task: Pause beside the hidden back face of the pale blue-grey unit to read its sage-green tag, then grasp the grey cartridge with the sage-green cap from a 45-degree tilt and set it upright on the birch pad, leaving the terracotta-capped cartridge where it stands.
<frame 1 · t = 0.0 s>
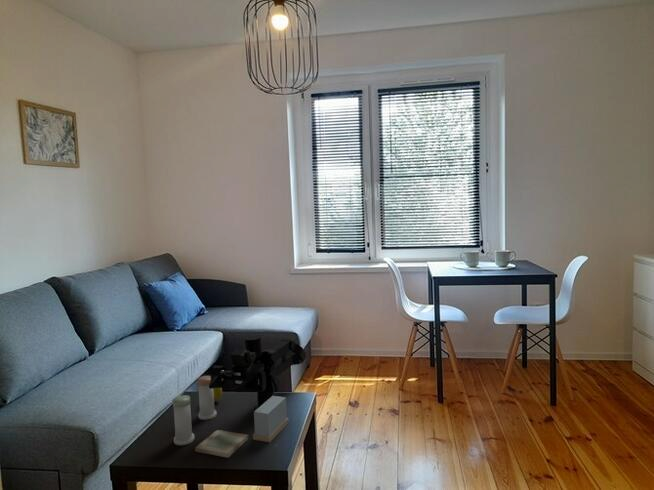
hand: (222, 388, 135), 17 cm above the table, tool horizontal, fingers open, 9 cm apart
unit: (271, 430, 143), on the table
pad: (222, 445, 135), on the table
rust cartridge: (207, 415, 155), on the table
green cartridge: (184, 440, 139), on the table
lemon: (214, 402, 166), on the table
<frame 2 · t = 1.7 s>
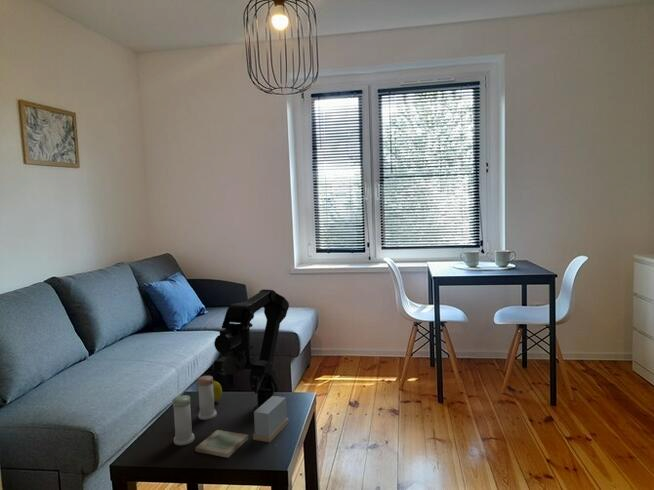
hand: (243, 391, 146), 11 cm above the table, tool pointing down, fingers open, 9 cm apart
nothing on the table moved.
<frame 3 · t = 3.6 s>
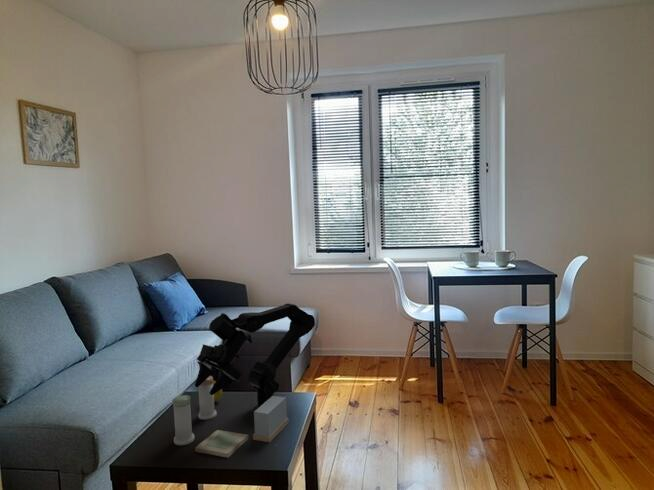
hand: (203, 390, 143), 13 cm above the table, tool tilted 45°, fingers open, 9 cm apart
nothing on the table moved.
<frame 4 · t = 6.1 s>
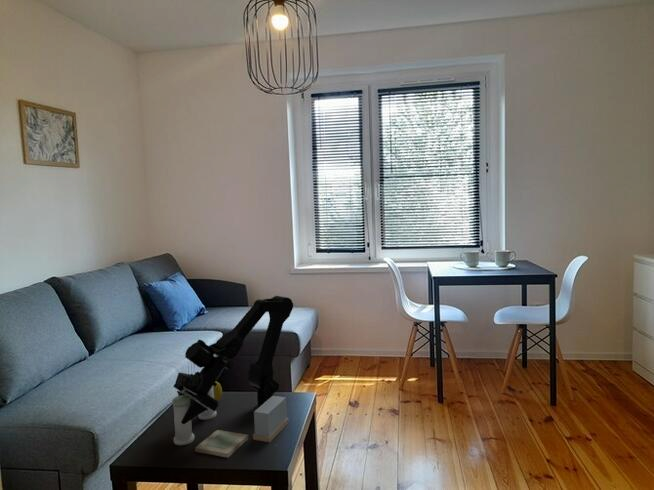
hand: (178, 420, 137), 7 cm above the table, tool tilted 45°, fingers closed on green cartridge, 5 cm apart
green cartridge: (184, 440, 139), on the table, touching gripper
everything else where it was.
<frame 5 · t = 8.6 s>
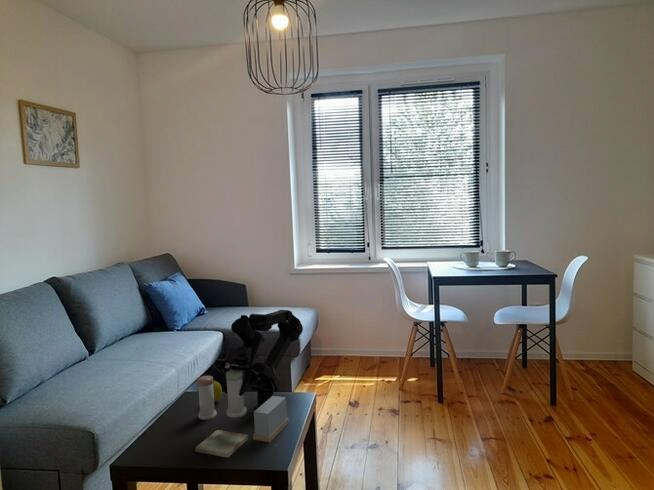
hand: (232, 394, 141), 12 cm above the table, tool tilted 45°, fingers closed on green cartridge, 5 cm apart
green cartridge: (236, 412, 143), point 6 cm above the table, touching gripper
everything else where it was.
when the fingers open (9 cm above the table, at t = 10.9 s): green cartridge drops 1 cm, resting on pad.
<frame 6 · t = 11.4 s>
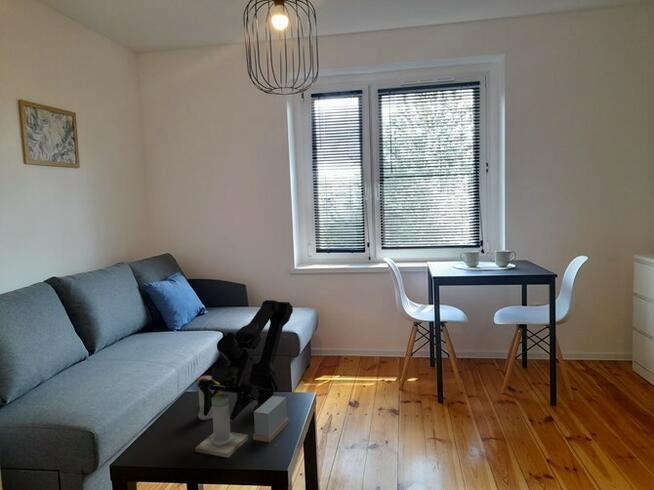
hand: (218, 417, 133), 9 cm above the table, tool tilted 45°, fingers open, 9 cm apart
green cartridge: (222, 440, 135), point 1 cm above the table, touching pad
everything else where it was.
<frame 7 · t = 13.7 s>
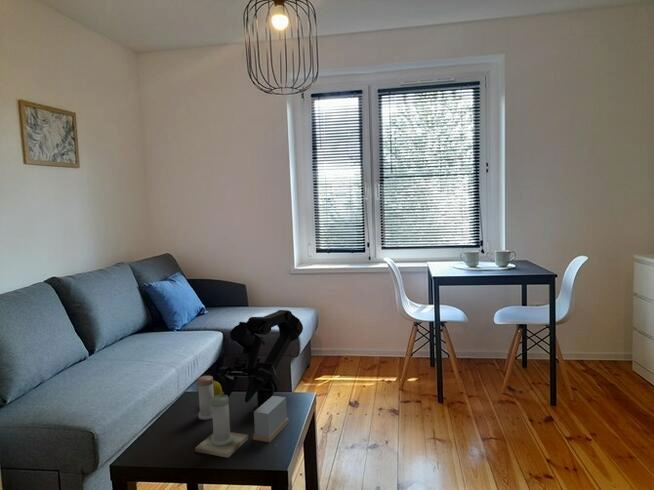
hand: (235, 401, 143), 10 cm above the table, tool tilted 40°, fingers open, 9 cm apart
nothing on the table moved.
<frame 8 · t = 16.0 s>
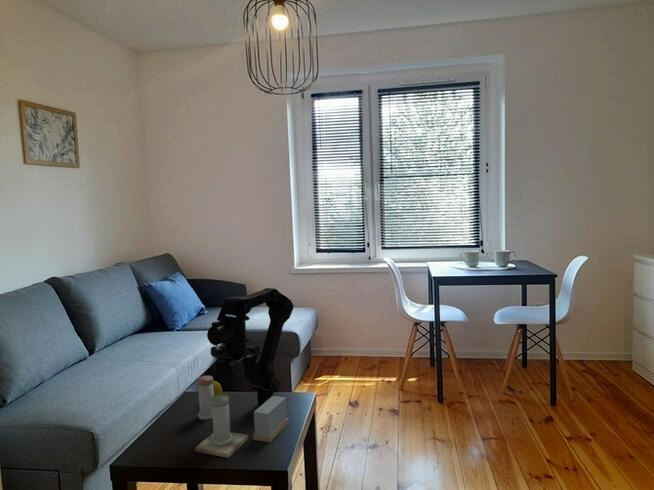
hand: (239, 383, 148), 13 cm above the table, tool pointing down, fingers open, 9 cm apart
nothing on the table moved.
at the end: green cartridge inside the target area on the pad (0.1 cm from its centre), point 1.3 cm above the pad's base; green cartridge tilted 0°; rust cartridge moved 0.0 cm from its start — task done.
